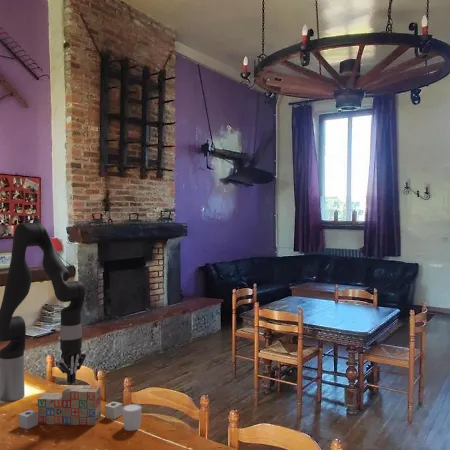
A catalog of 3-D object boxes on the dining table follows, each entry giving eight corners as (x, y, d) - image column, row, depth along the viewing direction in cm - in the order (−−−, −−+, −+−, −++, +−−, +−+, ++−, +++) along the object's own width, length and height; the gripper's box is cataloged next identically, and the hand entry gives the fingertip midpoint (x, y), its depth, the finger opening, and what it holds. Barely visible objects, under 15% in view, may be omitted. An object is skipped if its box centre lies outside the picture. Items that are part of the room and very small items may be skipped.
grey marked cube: (18, 426, 168) (18, 414, 168) (29, 422, 172) (29, 409, 172) (27, 429, 166) (27, 416, 166) (38, 424, 170) (37, 411, 170)
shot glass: (145, 424, 169) (145, 405, 169) (135, 432, 163) (135, 412, 163) (128, 421, 172) (128, 402, 171) (118, 429, 165) (118, 410, 165)
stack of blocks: (37, 424, 170) (37, 390, 170) (45, 417, 176) (44, 384, 176) (95, 425, 169) (95, 391, 169) (101, 418, 175) (100, 385, 175)
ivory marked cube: (104, 417, 175) (104, 405, 175) (113, 413, 179) (113, 400, 179) (114, 420, 173) (114, 407, 173) (122, 415, 177) (122, 403, 177)
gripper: (77, 331, 180) (77, 376, 180) (49, 339, 168) (49, 387, 168) (91, 333, 176) (92, 379, 177) (64, 341, 164) (64, 391, 165)
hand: (71, 383), depth 172 cm, fingers closed
